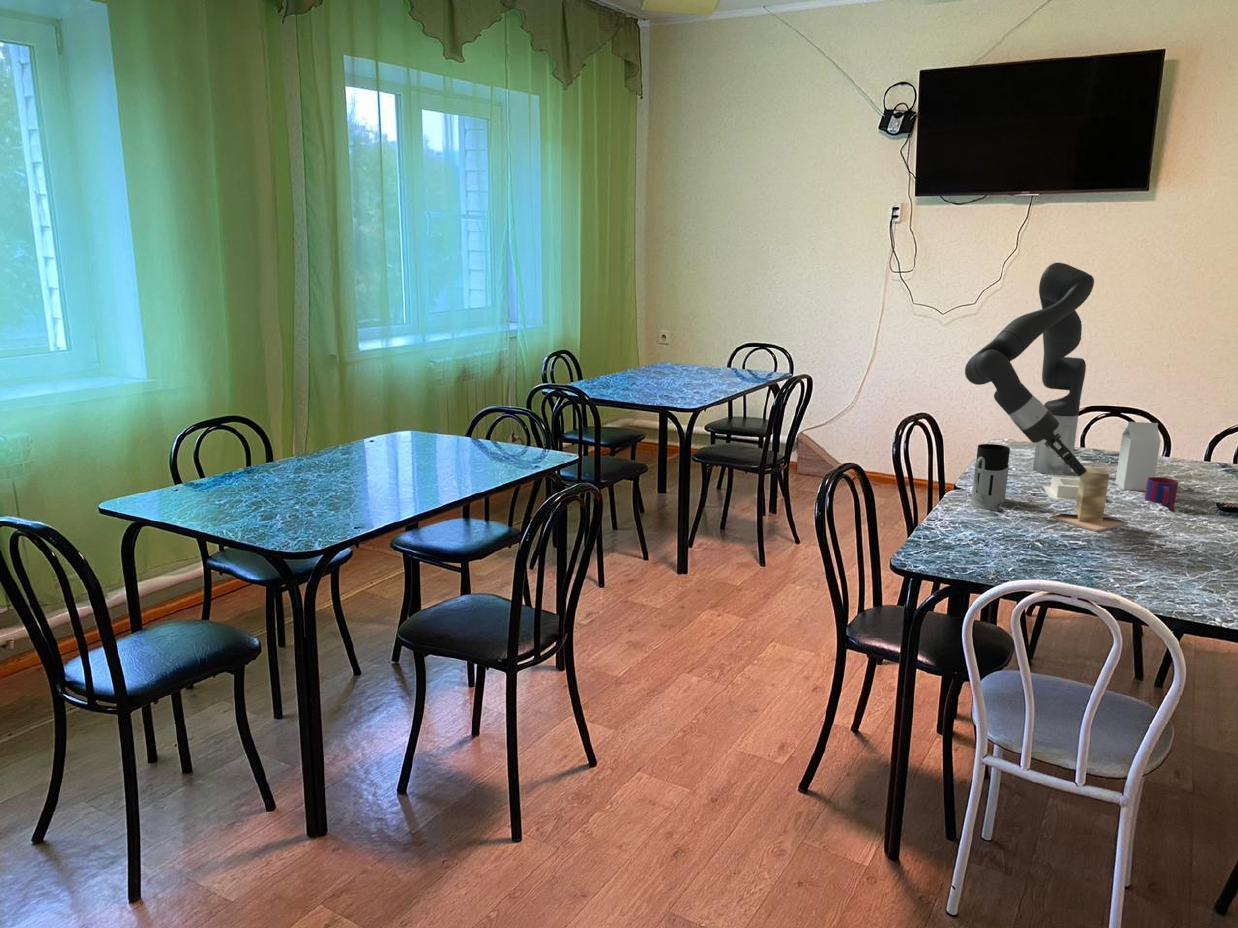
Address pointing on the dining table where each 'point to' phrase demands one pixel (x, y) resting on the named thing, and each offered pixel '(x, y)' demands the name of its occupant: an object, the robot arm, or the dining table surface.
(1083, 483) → the oak bar
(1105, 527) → the terracotta mat
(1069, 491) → the socket stand
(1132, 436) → the milk carton
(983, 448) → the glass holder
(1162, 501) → the mug
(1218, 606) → the dining table surface
